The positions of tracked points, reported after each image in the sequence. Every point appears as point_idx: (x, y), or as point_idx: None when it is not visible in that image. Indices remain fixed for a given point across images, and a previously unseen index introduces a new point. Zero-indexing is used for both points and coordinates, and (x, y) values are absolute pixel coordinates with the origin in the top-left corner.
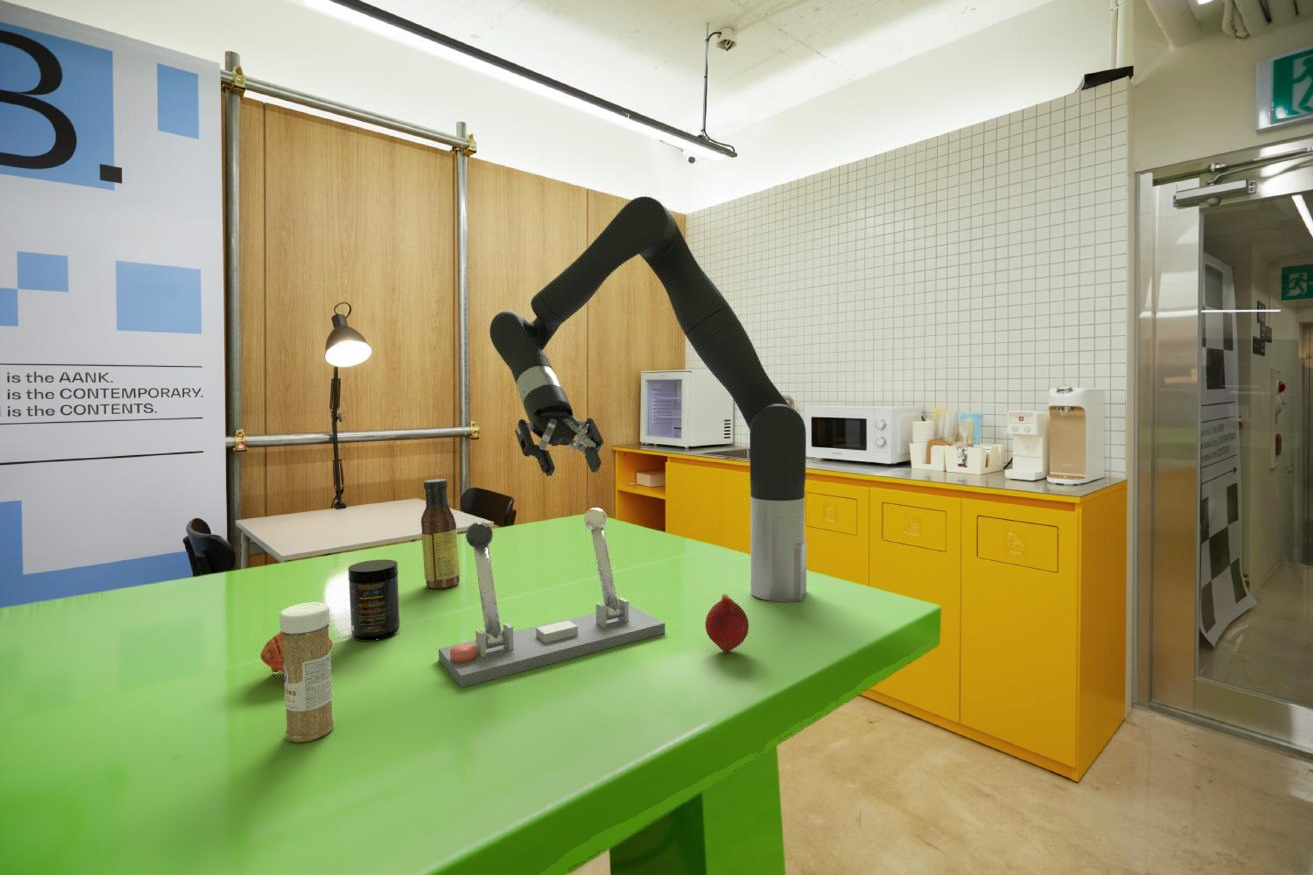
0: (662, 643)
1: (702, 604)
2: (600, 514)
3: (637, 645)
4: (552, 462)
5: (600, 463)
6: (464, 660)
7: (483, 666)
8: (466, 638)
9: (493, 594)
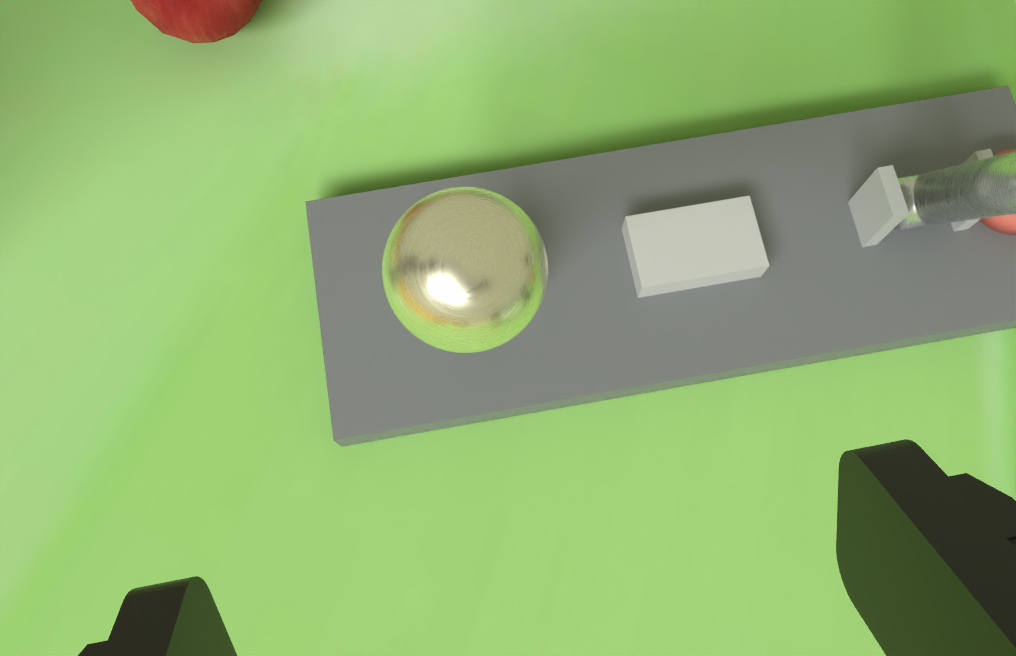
0: (362, 147)
1: (24, 423)
2: (449, 190)
3: (441, 165)
4: (900, 491)
5: (96, 646)
6: None
7: (945, 117)
8: (988, 469)
9: (1003, 155)
